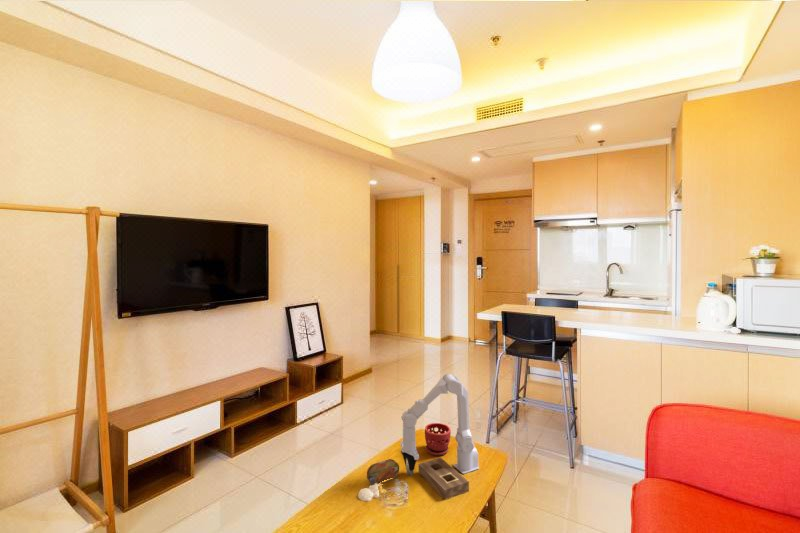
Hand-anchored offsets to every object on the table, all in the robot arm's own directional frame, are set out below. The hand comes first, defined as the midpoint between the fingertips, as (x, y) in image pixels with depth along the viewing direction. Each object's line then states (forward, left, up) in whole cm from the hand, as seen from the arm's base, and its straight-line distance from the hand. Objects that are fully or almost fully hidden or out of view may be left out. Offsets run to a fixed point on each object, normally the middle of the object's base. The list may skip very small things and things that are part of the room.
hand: (409, 468), depth 170 cm
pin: (0, 0, -2) cm, 2 cm away
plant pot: (-22, -11, -3) cm, 25 cm away
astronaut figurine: (+21, +5, -3) cm, 21 cm away
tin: (+13, -1, -3) cm, 13 cm away
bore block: (-10, +12, -3) cm, 16 cm away
